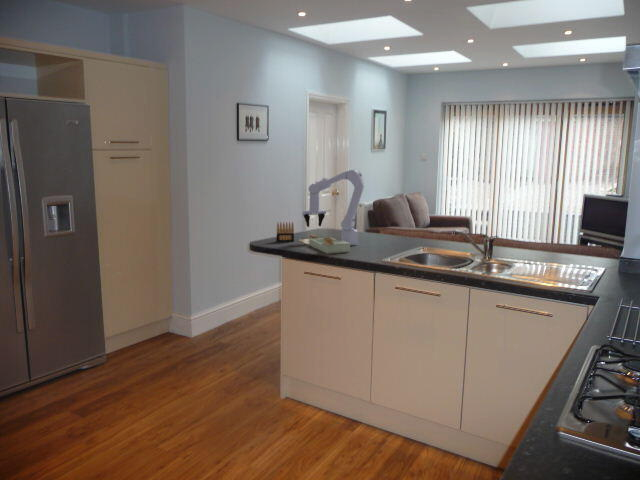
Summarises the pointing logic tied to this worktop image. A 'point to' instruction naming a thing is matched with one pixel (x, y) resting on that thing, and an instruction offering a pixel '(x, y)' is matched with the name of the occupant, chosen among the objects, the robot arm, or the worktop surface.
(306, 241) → the lid
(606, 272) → the worktop surface
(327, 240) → the block
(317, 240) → the flat box
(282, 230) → the ammunition clip
